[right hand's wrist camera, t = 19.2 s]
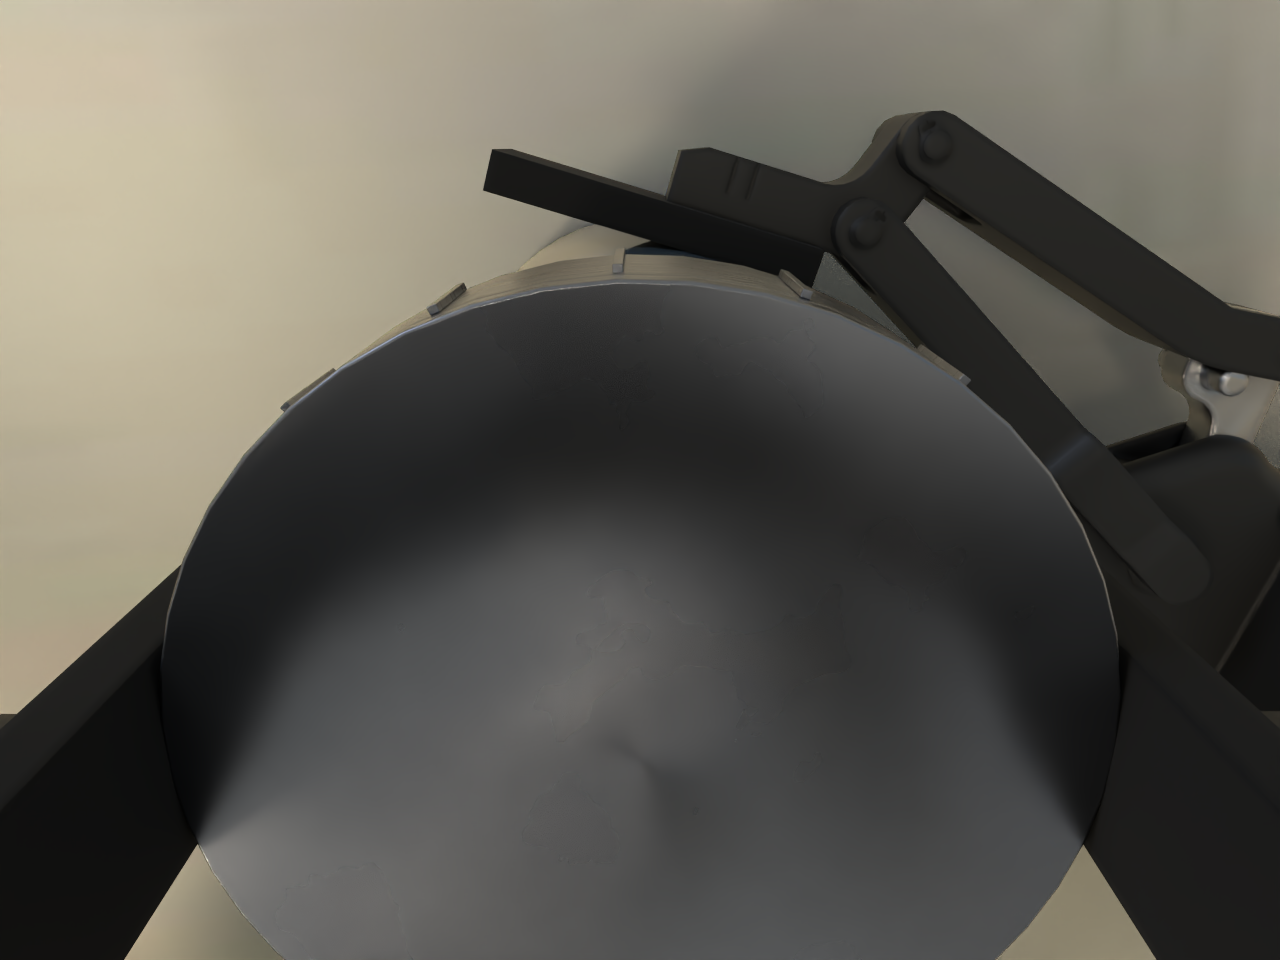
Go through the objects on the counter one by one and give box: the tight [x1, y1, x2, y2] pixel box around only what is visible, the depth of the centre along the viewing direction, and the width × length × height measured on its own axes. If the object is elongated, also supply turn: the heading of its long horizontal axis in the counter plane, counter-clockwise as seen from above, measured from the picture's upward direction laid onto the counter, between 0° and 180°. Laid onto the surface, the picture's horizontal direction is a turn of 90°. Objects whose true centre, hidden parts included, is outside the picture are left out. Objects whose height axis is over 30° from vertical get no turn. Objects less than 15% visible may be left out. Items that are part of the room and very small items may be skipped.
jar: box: [518, 224, 720, 271], centre depth 19 cm, size 10×10×16 cm
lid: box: [160, 248, 1121, 960], centre depth 11 cm, size 11×11×2 cm
